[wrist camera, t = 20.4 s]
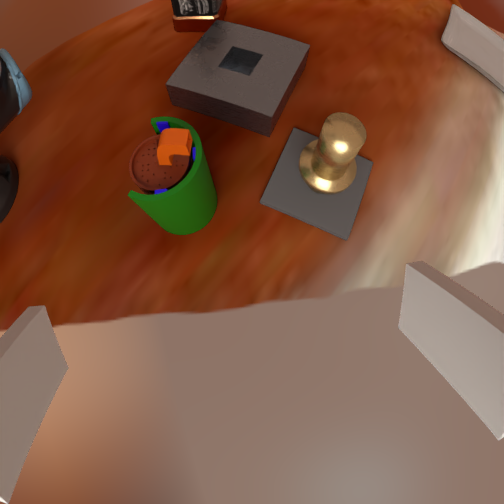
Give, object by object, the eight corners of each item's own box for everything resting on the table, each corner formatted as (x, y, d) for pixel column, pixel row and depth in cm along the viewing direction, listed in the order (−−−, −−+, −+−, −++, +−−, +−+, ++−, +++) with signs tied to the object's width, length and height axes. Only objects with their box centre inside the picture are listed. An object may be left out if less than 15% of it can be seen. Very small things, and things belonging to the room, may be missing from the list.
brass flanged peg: (286, 191, 47) (299, 142, 33) (305, 149, 49) (323, 92, 34) (335, 213, 47) (368, 174, 32) (352, 170, 48) (385, 120, 33)
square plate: (448, 10, 60) (453, 2, 57) (518, 63, 58) (524, 57, 54) (435, 47, 56) (442, 38, 52) (518, 113, 54) (526, 106, 50)
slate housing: (172, 104, 51) (165, 84, 45) (218, 40, 54) (216, 19, 48) (269, 137, 50) (271, 117, 44) (305, 66, 53) (310, 45, 47)
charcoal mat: (259, 203, 48) (260, 201, 47) (293, 129, 50) (293, 127, 49) (346, 240, 47) (347, 239, 46) (371, 164, 49) (373, 162, 49)
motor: (159, 174, 48) (114, 101, 29) (215, 167, 49) (198, 87, 29) (159, 237, 47) (105, 190, 27) (219, 231, 47) (200, 177, 27)
